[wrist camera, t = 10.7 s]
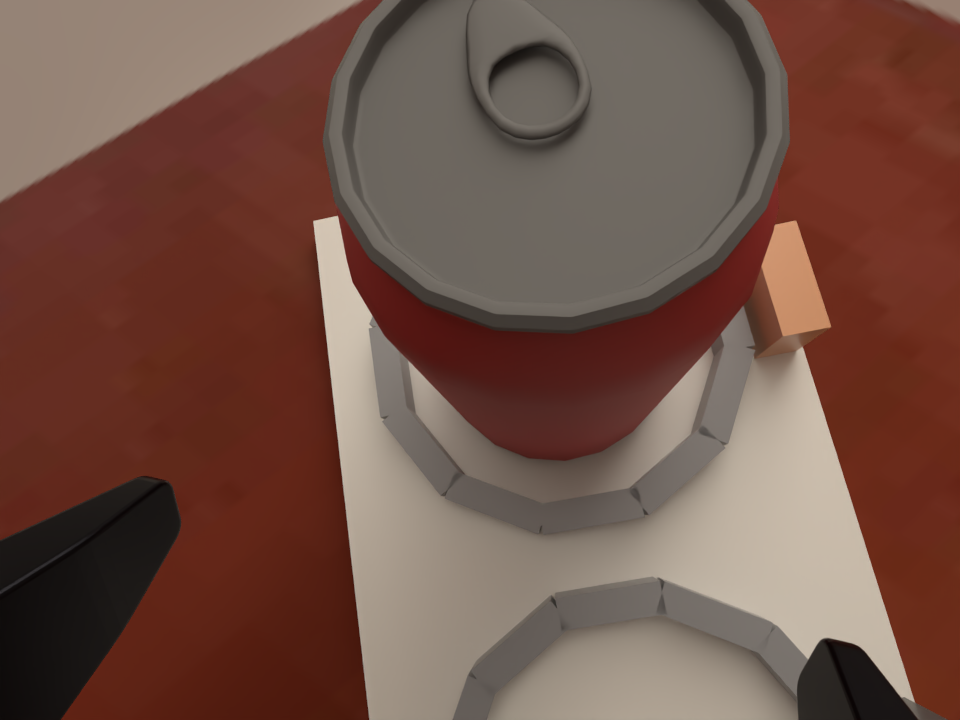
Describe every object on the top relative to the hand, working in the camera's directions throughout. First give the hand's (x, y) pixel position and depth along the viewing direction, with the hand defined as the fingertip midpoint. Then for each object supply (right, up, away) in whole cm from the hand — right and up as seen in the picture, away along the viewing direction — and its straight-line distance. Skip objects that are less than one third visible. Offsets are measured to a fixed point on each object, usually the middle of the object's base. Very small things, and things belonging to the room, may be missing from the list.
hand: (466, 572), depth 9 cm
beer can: (+2, +3, +11) cm, 11 cm away
